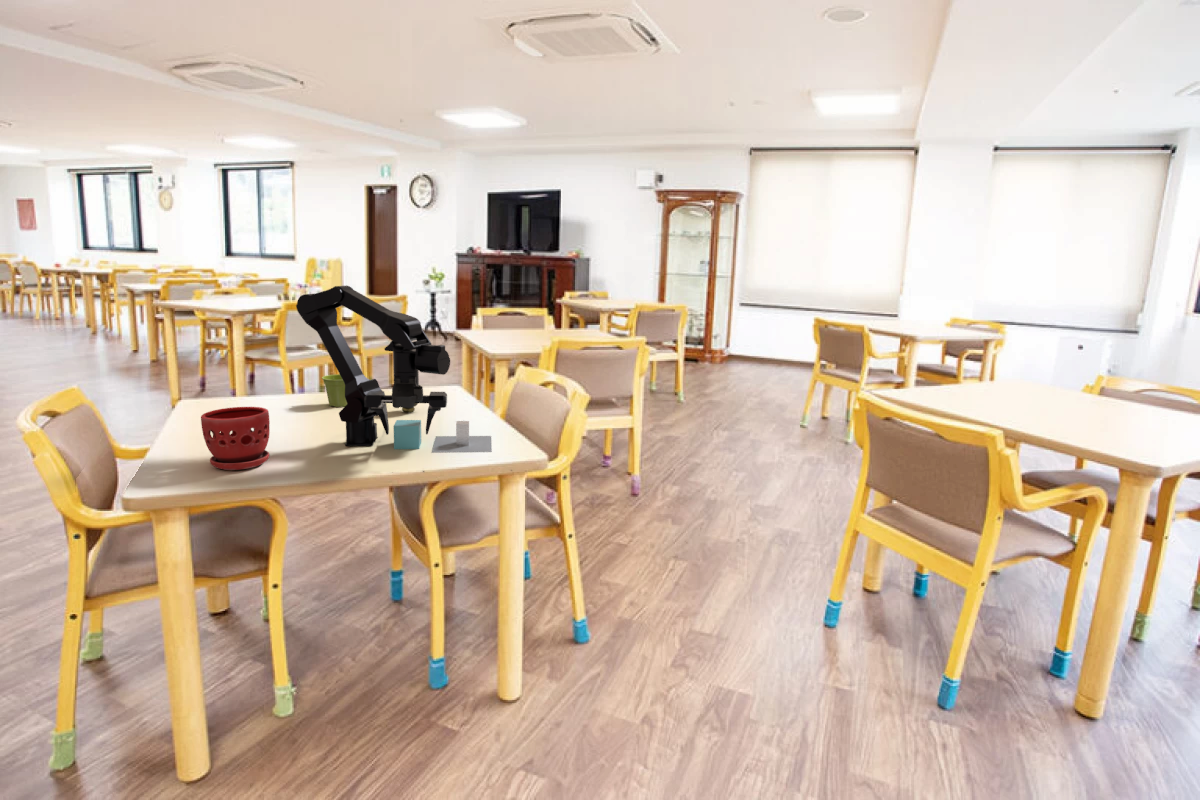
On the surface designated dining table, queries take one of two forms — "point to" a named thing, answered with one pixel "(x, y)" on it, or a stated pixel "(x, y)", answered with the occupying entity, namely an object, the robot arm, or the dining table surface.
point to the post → (462, 433)
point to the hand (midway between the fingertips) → (407, 434)
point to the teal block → (407, 434)
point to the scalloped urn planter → (409, 410)
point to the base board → (449, 445)
